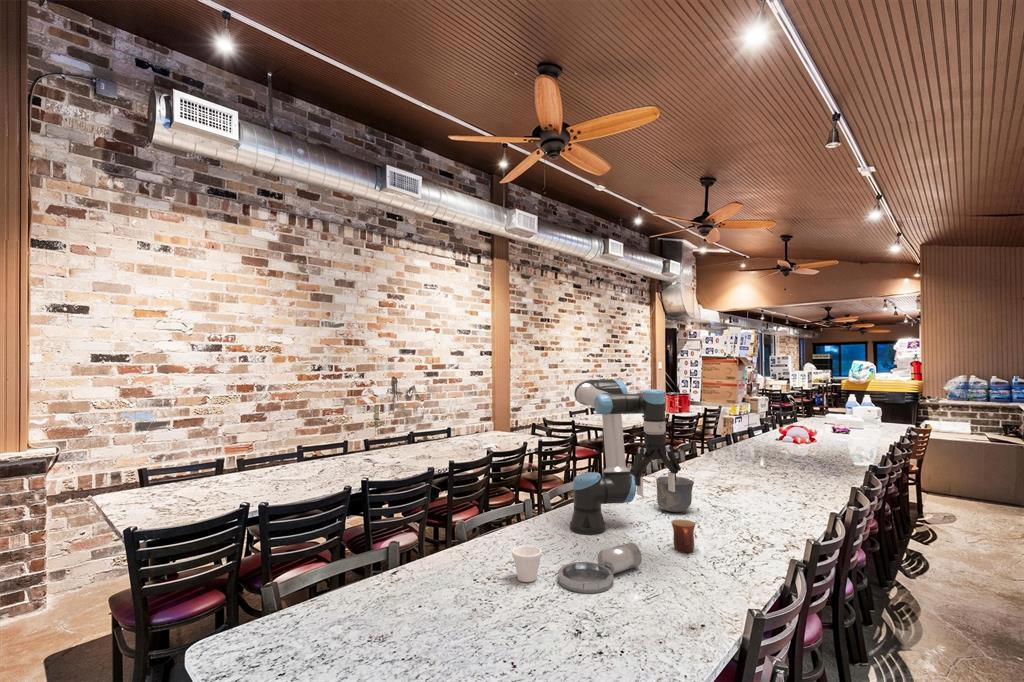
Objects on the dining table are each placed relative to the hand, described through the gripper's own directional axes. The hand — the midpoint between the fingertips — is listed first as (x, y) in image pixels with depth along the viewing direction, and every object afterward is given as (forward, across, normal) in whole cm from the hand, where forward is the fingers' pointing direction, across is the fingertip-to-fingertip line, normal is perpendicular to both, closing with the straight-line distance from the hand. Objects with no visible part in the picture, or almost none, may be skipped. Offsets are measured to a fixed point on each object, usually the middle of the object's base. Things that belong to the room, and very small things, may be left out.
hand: (656, 493), depth 178 cm
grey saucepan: (+25, -24, -1) cm, 35 cm away
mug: (+25, +17, +6) cm, 31 cm away
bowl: (+25, +48, +49) cm, 73 cm away
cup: (+25, -47, +6) cm, 54 cm away
